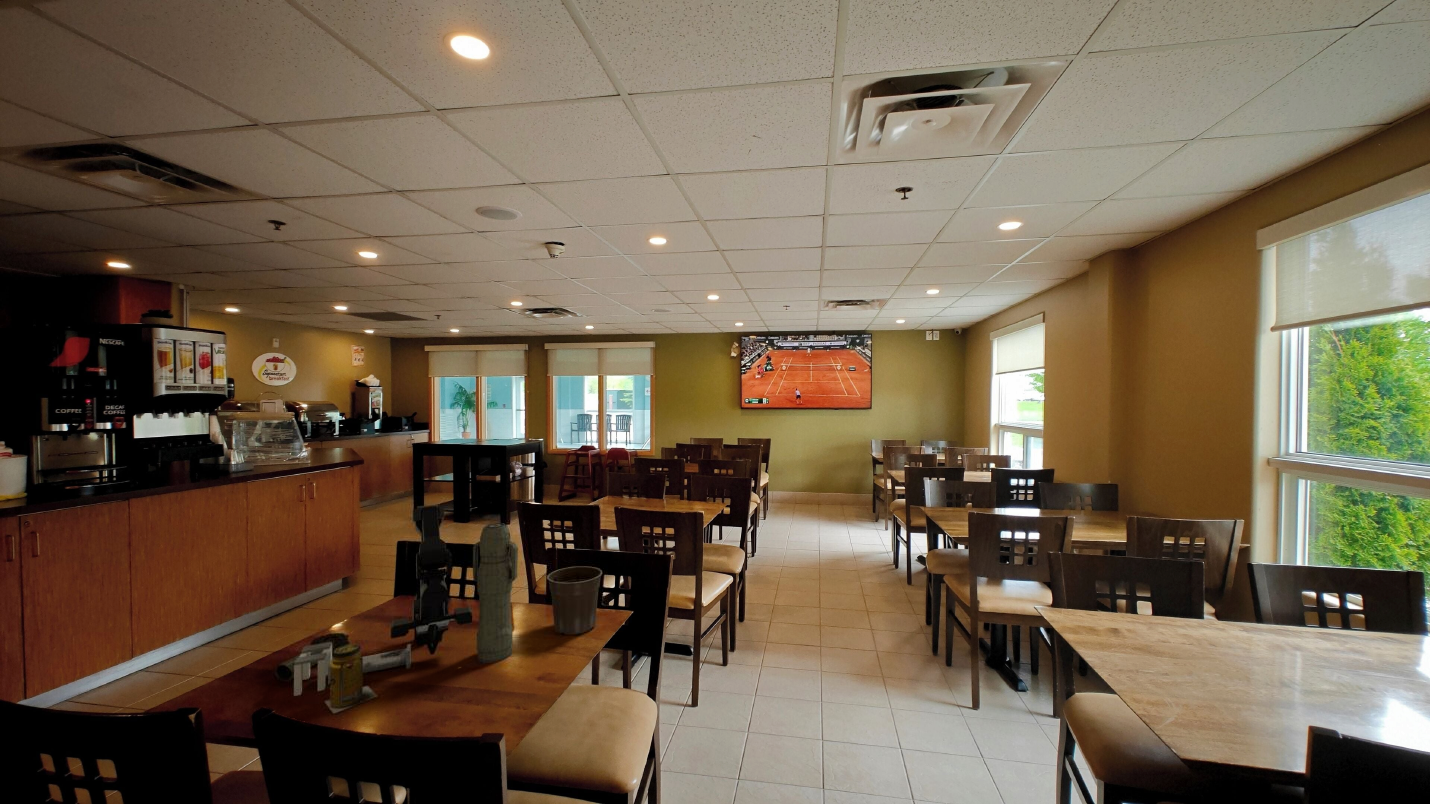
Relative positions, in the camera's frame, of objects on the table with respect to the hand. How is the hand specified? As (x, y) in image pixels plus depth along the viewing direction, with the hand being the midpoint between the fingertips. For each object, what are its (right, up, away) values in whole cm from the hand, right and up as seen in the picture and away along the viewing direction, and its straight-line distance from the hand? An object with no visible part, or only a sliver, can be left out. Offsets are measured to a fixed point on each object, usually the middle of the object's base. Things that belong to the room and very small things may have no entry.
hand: (432, 653), depth 136 cm
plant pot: (+32, -2, +20) cm, 38 cm away
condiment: (-8, -2, -19) cm, 20 cm away
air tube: (-12, -2, -6) cm, 14 cm away
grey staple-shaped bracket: (-22, -1, -12) cm, 25 cm away
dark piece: (-30, -2, -2) cm, 30 cm away
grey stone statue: (+16, -2, +3) cm, 16 cm away
